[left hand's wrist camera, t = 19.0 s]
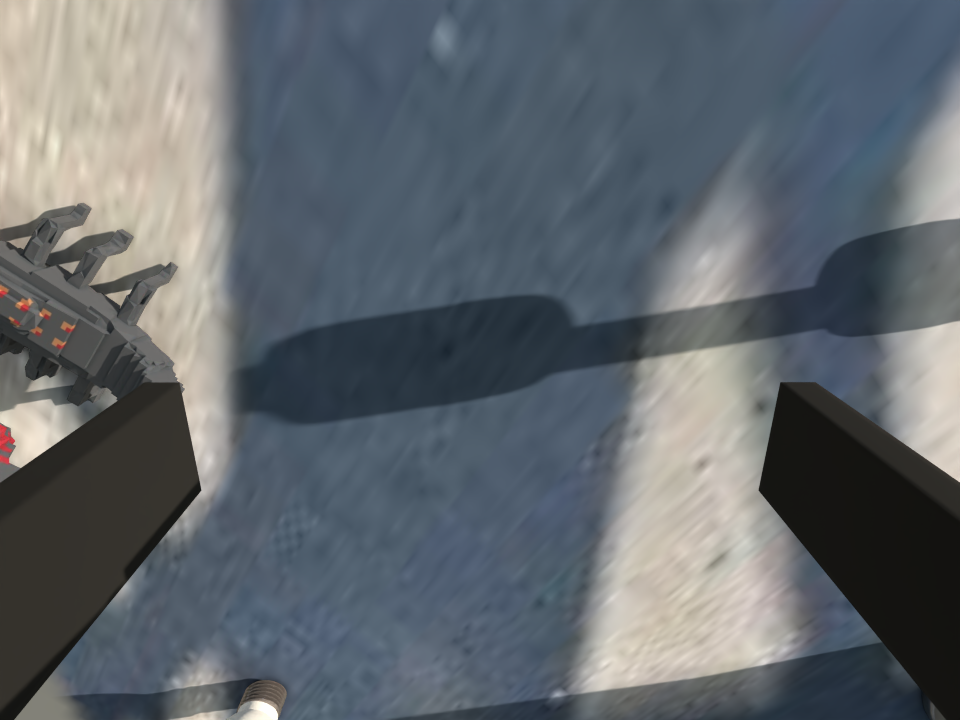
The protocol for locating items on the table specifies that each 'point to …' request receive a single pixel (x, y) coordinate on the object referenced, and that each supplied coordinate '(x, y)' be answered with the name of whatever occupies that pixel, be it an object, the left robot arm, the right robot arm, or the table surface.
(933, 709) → the right robot arm
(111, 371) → the toy
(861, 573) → the left robot arm
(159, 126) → the table surface
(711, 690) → the table surface
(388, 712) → the table surface
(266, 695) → the light bulb
